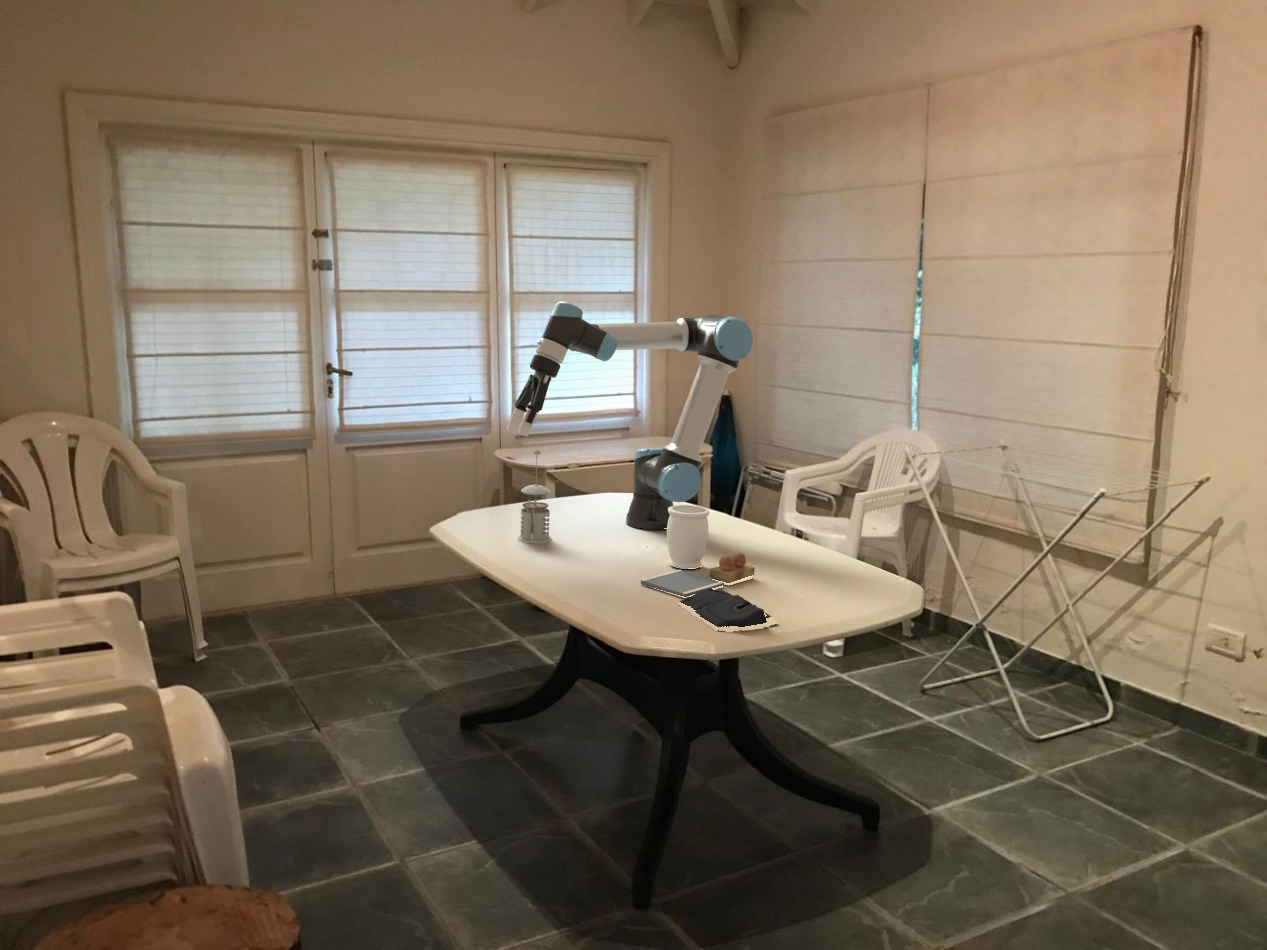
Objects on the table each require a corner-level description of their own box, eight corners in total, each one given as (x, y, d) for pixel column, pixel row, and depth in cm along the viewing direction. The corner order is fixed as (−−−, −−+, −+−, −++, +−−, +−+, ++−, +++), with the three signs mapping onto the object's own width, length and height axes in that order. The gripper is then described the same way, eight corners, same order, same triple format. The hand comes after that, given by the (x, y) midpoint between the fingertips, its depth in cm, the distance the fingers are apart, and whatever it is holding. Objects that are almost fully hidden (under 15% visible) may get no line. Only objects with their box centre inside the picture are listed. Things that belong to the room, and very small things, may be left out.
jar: (658, 567, 258) (661, 509, 256) (675, 558, 267) (678, 502, 265) (696, 574, 254) (699, 515, 251) (712, 565, 263) (716, 508, 260)
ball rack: (734, 573, 256) (736, 548, 255) (753, 578, 252) (755, 553, 251) (709, 580, 249) (710, 555, 248) (728, 586, 245) (730, 560, 244)
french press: (555, 536, 285) (558, 447, 280) (547, 546, 273) (550, 455, 269) (520, 533, 286) (522, 445, 281) (511, 544, 274) (513, 452, 270)
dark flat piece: (730, 598, 237) (731, 579, 236) (782, 629, 218) (784, 607, 217) (671, 605, 230) (672, 585, 230) (721, 637, 211) (722, 615, 210)
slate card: (679, 574, 253) (679, 569, 253) (723, 587, 243) (723, 582, 243) (640, 584, 243) (641, 579, 243) (685, 599, 233) (685, 593, 233)
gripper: (524, 354, 277) (493, 426, 276) (547, 351, 253) (514, 429, 252) (548, 365, 279) (518, 437, 278) (574, 363, 256) (541, 441, 255)
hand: (516, 433), depth 265 cm, fingers open, 13 cm apart
